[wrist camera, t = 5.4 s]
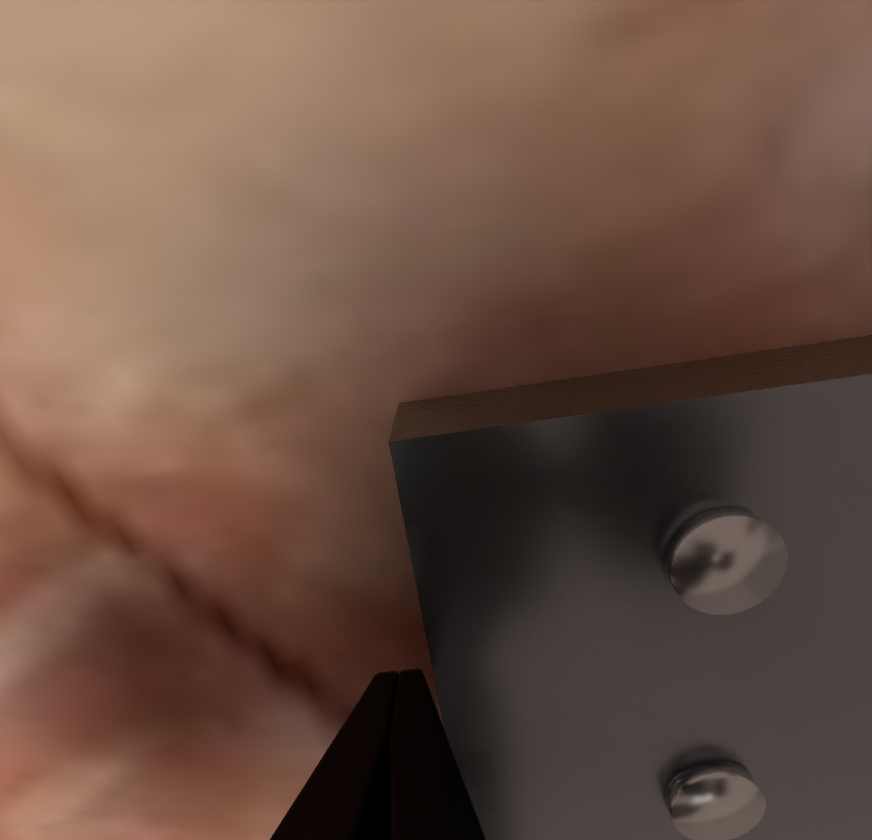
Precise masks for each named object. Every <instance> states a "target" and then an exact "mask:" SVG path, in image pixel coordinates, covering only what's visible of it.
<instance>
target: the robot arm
mask: <svg viewBox="0 0 872 840" xmlns="http://www.w3.org/2000/svg"><path fill="white" fill-rule="evenodd" d="M270 840H486V837H485V834H484V832H483V829H482V826H481V824H480V821H479V819H478V816H477V813H476V811H475V808H474V805H473V803H472V800H471V798H470V795H469V792H468V790H467V787H466V784H465V782H464V779H463V776H462V774H461V771H460V769H459V766H458V763H457V761H456V758H455V755H454V753H453V750H452V748H451V745H450V742H449V740H448V737H447V734H446V732H445V729H444V726H443V724H442V721H441V719H440V716H439V713H438V711H437V708H436V705H435V703H434V700H433V698H432V695H431V692H430V690H429V687H428V684H427V682H426V679H425V676H424V674H423V671H422V670H421V669H420V668H416V669H407V670H401V671H400V673H399V672H397V671H389V672H380V673H377V674H376V675H375V676H374V678H373V679H372V681H371V682H370V684H369V685H368V687H367V688H366V690H365V692H364V693H363V695H362V696H361V698H360V699H359V701H358V703H357V704H356V706H355V707H354V709H353V710H352V712H351V713H350V715H349V717H348V718H347V720H346V721H345V723H344V724H343V726H342V728H341V729H340V731H339V732H338V734H337V735H336V737H335V739H334V740H333V742H332V743H331V745H330V746H329V748H328V749H327V751H326V753H325V754H324V756H323V757H322V759H321V760H320V762H319V764H318V765H317V767H316V768H315V770H314V771H313V773H312V774H311V776H310V778H309V779H308V781H307V782H306V784H305V785H304V787H303V789H302V790H301V792H300V793H299V795H298V796H297V798H296V800H295V801H294V803H293V804H292V806H291V807H290V809H289V810H288V812H287V814H286V815H285V817H284V818H283V820H282V821H281V823H280V825H279V826H278V828H277V829H276V831H275V832H274V834H273V835H272V837H271V839H270Z"/></svg>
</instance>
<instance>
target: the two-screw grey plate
mask: <svg viewBox="0 0 872 840" xmlns="http://www.w3.org/2000/svg"><path fill="white" fill-rule="evenodd" d="M389 446H390V451H391V456H392V461H393V466H394V472H395V477H396V482H397V487H398V492H399V497H400V503H401V508H402V513H403V518H404V523H405V529H406V534H407V539H408V544H409V549H410V554H411V560H412V565H413V570H414V575H415V580H416V586H417V591H418V596H419V601H420V606H421V611H422V617H423V622H424V627H425V632H426V637H427V643H428V648H429V653H430V658H431V663H432V668H433V674H434V679H435V684H436V689H437V694H438V700H439V705H440V710H441V715H442V720H443V725H444V729H445V732H446V734H447V737H448V740H449V742H450V745H451V748H452V750H453V753H454V755H455V758H456V761H457V763H458V766H459V769H460V771H461V774H462V776H463V779H464V782H465V784H466V787H467V790H468V792H469V795H470V798H471V800H472V803H473V805H474V808H475V811H476V813H477V816H478V819H479V821H480V824H481V826H482V829H483V832H484V834H485V837H486V840H872V335H870V336H863V337H856V338H849V339H842V340H835V341H828V342H821V343H814V344H807V345H800V346H793V347H786V348H779V349H772V350H765V351H759V352H752V353H745V354H738V355H731V356H724V357H717V358H710V359H703V360H696V361H689V362H682V363H675V364H668V365H661V366H654V367H648V368H641V369H634V370H627V371H620V372H613V373H606V374H599V375H592V376H585V377H578V378H571V379H564V380H557V381H550V382H543V383H537V384H530V385H523V386H516V387H509V388H502V389H495V390H488V391H481V392H474V393H467V394H460V395H453V396H446V397H439V398H432V399H426V400H419V401H412V402H405V403H399V406H398V409H397V413H396V417H395V420H394V424H393V428H392V431H391V435H390V439H389Z"/></svg>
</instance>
